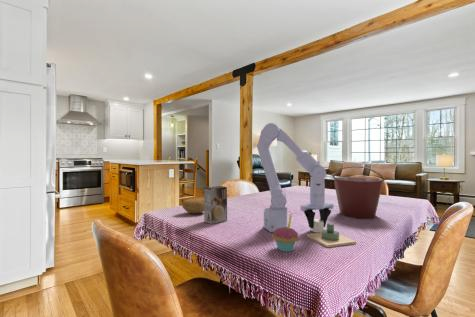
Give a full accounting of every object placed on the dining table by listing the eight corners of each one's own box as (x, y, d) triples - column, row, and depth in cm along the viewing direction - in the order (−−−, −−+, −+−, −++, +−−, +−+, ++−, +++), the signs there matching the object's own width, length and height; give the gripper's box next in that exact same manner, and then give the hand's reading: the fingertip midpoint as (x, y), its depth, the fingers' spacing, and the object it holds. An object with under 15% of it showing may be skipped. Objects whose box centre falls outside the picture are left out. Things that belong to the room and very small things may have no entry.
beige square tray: (326, 247, 83) (326, 230, 83) (306, 236, 95) (306, 221, 95) (355, 243, 87) (356, 227, 87) (333, 233, 98) (333, 218, 98)
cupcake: (294, 244, 86) (294, 210, 86) (301, 254, 78) (301, 216, 78) (270, 244, 86) (270, 210, 86) (274, 254, 78) (274, 216, 77)
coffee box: (219, 218, 121) (219, 185, 121) (227, 220, 116) (227, 186, 116) (203, 221, 116) (203, 187, 115) (211, 224, 111) (211, 188, 110)
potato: (181, 212, 133) (180, 197, 133) (206, 210, 138) (206, 196, 138) (183, 216, 124) (183, 200, 124) (210, 214, 129) (210, 199, 129)
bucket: (324, 213, 130) (325, 166, 130) (343, 207, 145) (344, 164, 144) (375, 223, 112) (375, 168, 112) (391, 215, 127) (391, 166, 126)
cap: (315, 232, 99) (315, 222, 99) (308, 229, 104) (308, 219, 103) (326, 231, 100) (326, 221, 100) (318, 228, 105) (318, 218, 105)
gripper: (307, 196, 96) (307, 231, 96) (338, 194, 100) (338, 228, 100) (297, 193, 102) (297, 226, 103) (327, 192, 107) (327, 223, 107)
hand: (317, 227), depth 102 cm, fingers closed on cap, 5 cm apart
